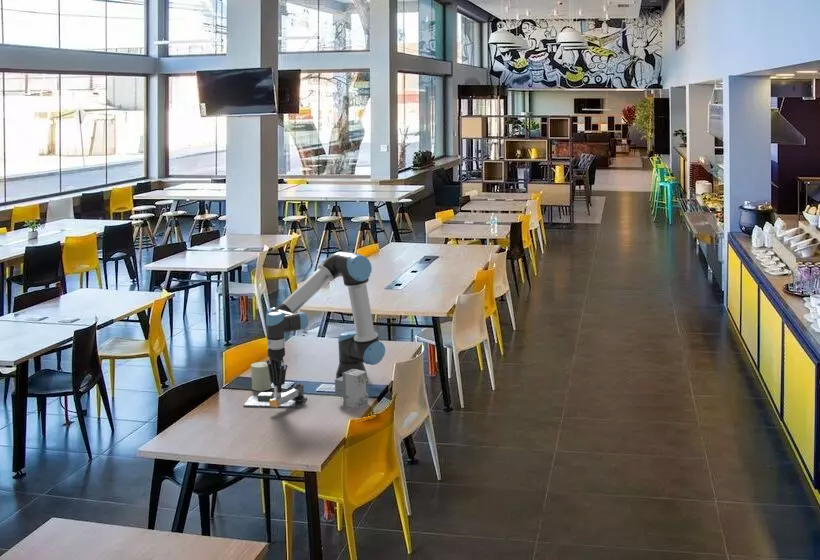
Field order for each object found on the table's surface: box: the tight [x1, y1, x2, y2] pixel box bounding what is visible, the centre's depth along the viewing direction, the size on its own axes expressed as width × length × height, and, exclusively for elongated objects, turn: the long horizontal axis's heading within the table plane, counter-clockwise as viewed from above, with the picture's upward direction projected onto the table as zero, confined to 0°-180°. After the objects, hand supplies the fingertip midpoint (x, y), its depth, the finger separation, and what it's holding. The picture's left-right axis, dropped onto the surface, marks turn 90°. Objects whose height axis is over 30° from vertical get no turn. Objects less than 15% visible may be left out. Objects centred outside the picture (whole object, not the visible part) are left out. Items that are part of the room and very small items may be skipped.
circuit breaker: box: [334, 369, 369, 409], centre depth 419 cm, size 8×14×15 cm, turn 55°
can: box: [250, 361, 272, 392], centre depth 443 cm, size 9×9×12 cm
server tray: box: [242, 391, 308, 409], centre depth 422 cm, size 26×13×3 cm, turn 83°
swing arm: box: [269, 382, 305, 408], centre depth 416 cm, size 22×4×7 cm, turn 153°
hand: (278, 398), depth 414 cm, fingers closed
